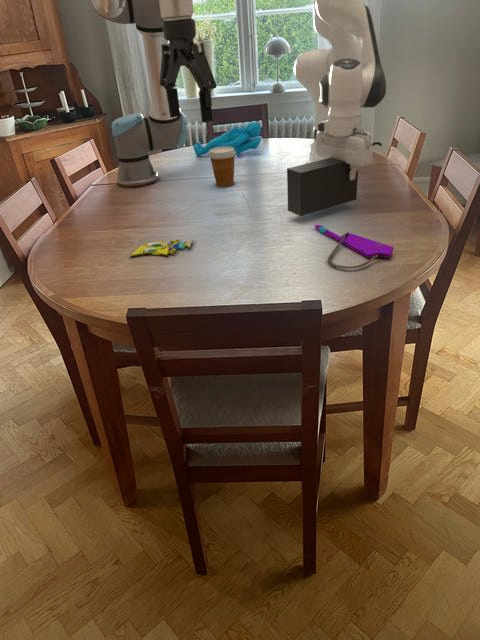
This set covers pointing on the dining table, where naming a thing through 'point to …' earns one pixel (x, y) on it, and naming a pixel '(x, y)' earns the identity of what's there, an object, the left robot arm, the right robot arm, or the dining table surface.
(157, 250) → the toy
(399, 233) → the dining table surface
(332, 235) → the musical instrument
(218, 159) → the disposable coffee cup
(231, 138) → the toy
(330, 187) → the box
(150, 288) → the dining table surface
